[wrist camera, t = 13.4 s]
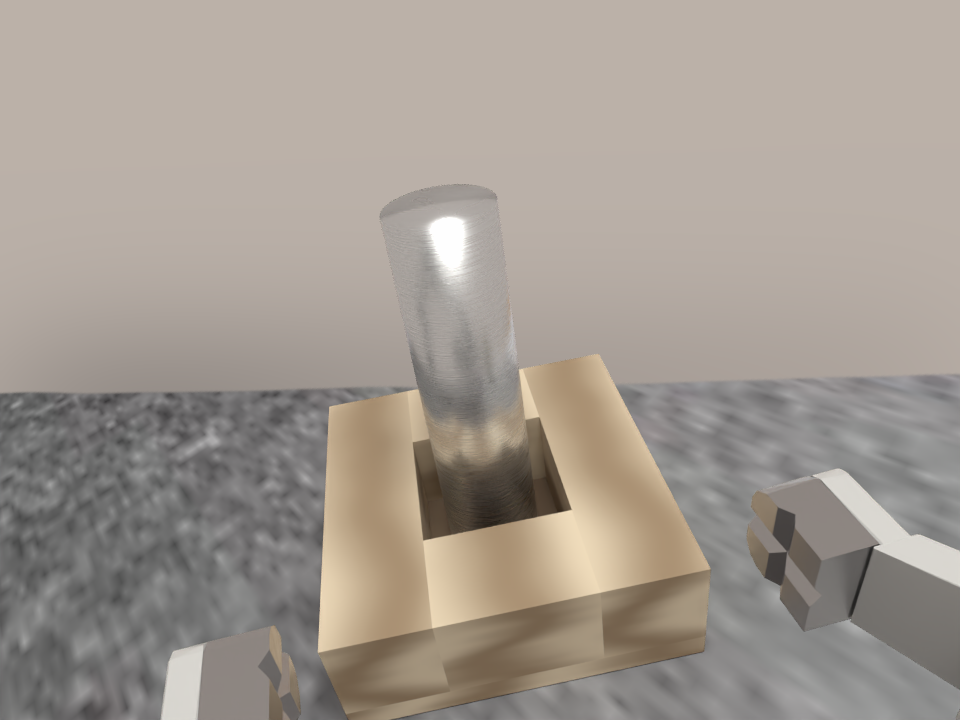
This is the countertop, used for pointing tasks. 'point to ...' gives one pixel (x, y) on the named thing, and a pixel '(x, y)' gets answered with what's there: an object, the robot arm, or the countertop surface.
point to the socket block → (501, 556)
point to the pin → (463, 349)
